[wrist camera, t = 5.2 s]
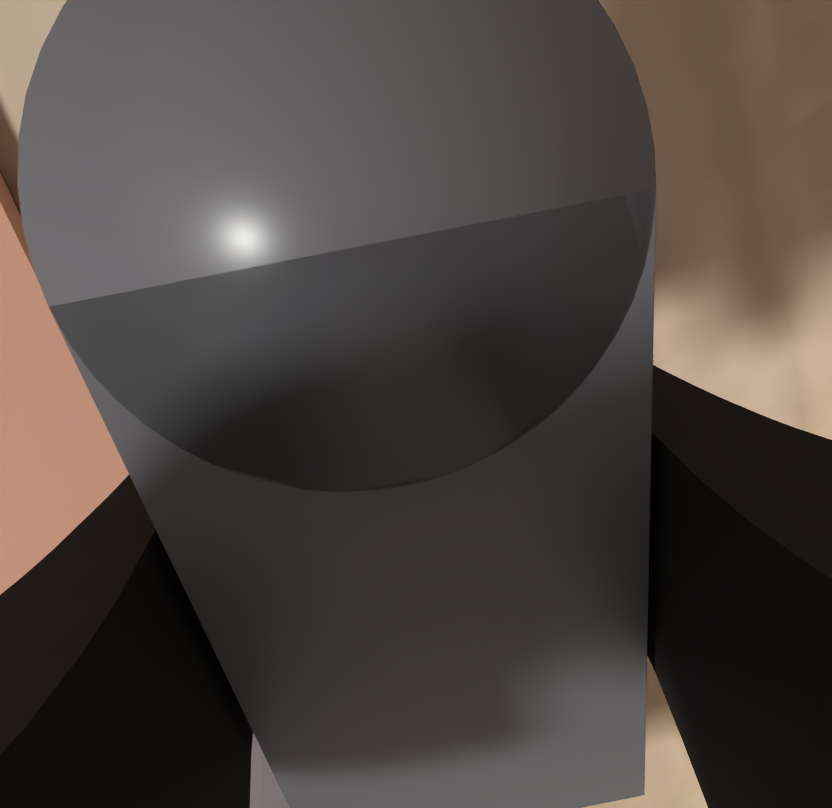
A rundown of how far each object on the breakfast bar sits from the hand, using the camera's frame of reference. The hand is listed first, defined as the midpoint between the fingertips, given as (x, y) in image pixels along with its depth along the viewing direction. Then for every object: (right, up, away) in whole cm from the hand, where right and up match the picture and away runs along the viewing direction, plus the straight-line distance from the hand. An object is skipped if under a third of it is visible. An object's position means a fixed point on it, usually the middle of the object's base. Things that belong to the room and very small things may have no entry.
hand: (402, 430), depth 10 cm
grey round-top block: (0, +1, +1) cm, 1 cm away
